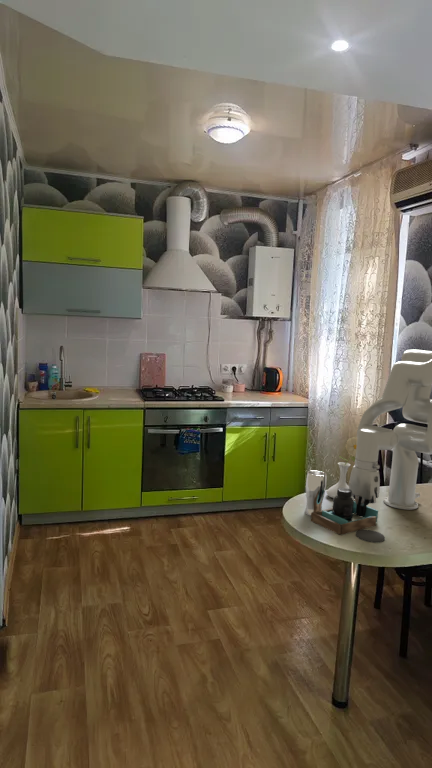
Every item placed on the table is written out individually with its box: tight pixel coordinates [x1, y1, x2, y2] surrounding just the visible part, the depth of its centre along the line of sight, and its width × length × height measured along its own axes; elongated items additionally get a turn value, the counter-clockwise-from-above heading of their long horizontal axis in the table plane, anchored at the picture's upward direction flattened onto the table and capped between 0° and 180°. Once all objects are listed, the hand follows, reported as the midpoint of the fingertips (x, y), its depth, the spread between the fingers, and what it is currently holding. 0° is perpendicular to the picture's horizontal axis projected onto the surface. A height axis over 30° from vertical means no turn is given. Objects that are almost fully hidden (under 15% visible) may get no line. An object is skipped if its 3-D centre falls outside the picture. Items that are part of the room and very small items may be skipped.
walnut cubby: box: [310, 507, 377, 536], centre depth 177 cm, size 18×13×3 cm
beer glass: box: [304, 469, 327, 517], centre depth 184 cm, size 7×7×15 cm
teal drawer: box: [322, 500, 379, 524], centre depth 179 cm, size 16×11×4 cm, turn 126°
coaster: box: [355, 528, 386, 544], centre depth 167 cm, size 9×9×1 cm
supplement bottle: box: [331, 488, 355, 522], centre depth 176 cm, size 7×7×12 cm
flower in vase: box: [326, 436, 357, 500], centre depth 203 cm, size 13×11×25 cm
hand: (360, 515), depth 183 cm, fingers closed
